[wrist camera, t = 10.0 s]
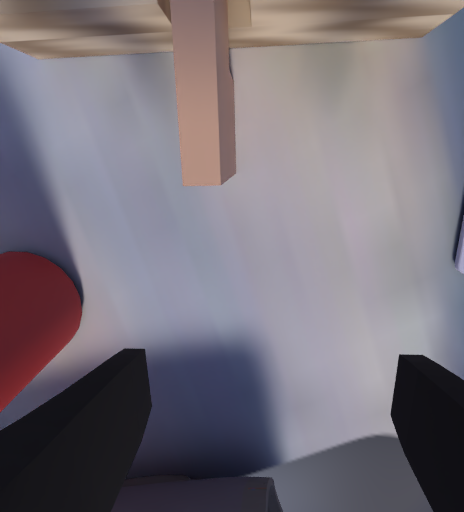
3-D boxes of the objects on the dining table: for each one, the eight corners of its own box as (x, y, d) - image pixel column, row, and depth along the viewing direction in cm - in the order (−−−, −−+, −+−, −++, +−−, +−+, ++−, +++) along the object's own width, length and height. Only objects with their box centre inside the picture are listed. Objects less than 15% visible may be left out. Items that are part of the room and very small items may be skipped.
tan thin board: (229, -130, 13) (198, -420, 7) (235, 173, 17) (220, 185, 10) (199, -127, 13) (140, -409, 7) (212, 173, 17) (183, 186, 10)
